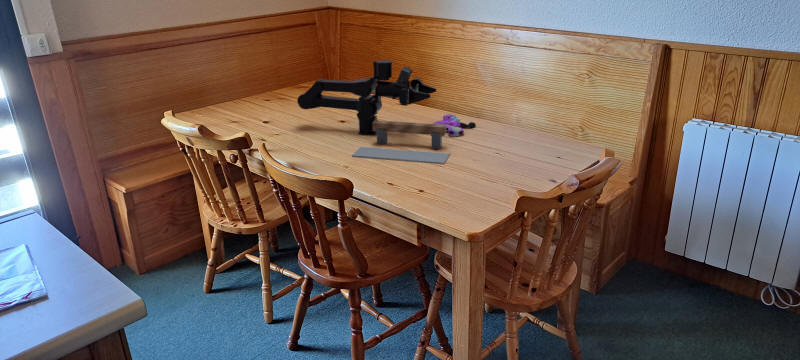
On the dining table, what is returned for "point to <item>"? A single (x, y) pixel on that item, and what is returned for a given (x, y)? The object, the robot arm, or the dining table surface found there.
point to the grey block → (436, 140)
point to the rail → (409, 127)
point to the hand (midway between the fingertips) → (433, 93)
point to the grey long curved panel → (401, 155)
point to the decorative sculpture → (454, 125)
